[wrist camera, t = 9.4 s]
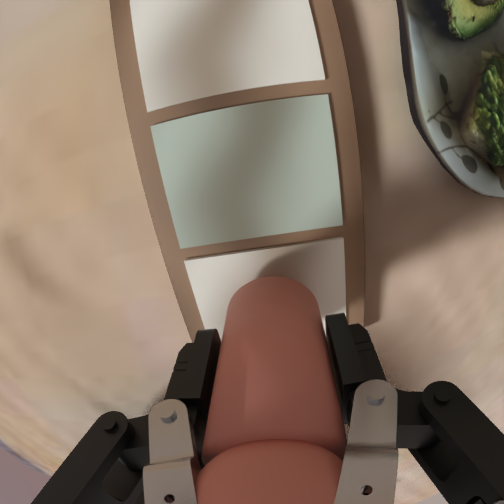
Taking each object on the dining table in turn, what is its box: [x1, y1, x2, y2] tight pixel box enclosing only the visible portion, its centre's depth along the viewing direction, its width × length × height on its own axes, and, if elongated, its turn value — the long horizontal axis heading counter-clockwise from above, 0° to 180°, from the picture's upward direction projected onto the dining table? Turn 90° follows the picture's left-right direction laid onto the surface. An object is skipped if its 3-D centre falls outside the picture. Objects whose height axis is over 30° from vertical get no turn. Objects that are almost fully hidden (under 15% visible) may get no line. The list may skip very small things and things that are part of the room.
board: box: [110, 0, 365, 343], centre depth 11 cm, size 9×26×2 cm, turn 10°
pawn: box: [196, 276, 363, 504], centre depth 8 cm, size 4×4×11 cm
